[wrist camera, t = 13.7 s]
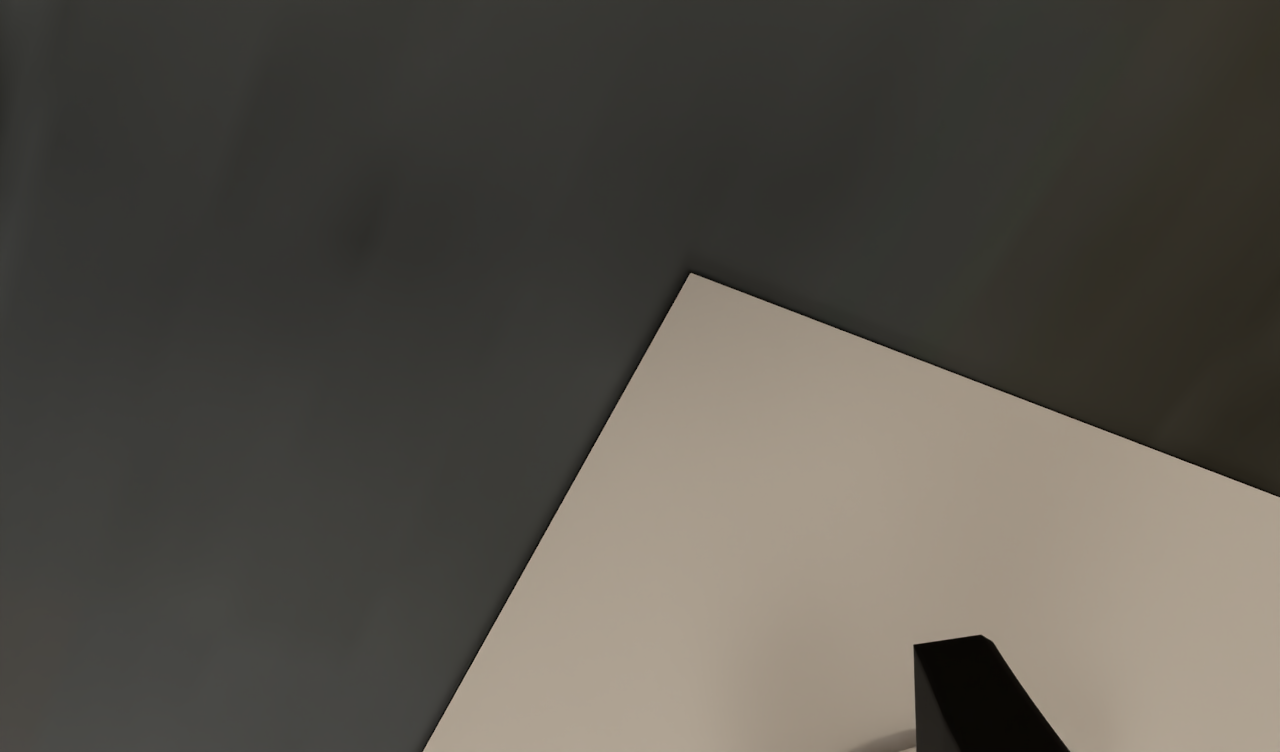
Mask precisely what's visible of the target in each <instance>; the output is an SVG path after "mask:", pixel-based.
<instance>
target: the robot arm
mask: <svg viewBox="0 0 1280 752" xmlns="http://www.w3.org/2000/svg"><path fill="white" fill-rule="evenodd" d="M913 651H914V685H915V719H916V752H1070V751H1069V749H1068V748H1067V747H1066V745H1065V744H1064V743H1063V741H1062V740H1061V739H1060V737H1059V736H1058V735H1057V733H1056V732H1055V731H1054V730H1053V728H1052V727H1051V726H1050V724H1049V723H1048V721H1047V720H1046V719H1045V717H1044V716H1043V715H1042V713H1041V712H1040V710H1039V709H1038V708H1037V706H1036V705H1035V704H1034V702H1033V701H1032V699H1031V698H1030V697H1029V695H1028V694H1027V692H1026V691H1025V689H1024V688H1023V687H1022V685H1021V684H1020V682H1019V681H1018V679H1017V678H1016V676H1015V675H1014V673H1013V672H1012V670H1011V669H1010V667H1009V666H1008V664H1007V663H1006V661H1005V660H1004V658H1003V657H1002V655H1001V654H1000V652H999V650H998V649H997V647H996V646H995V644H994V642H993V641H991V640H989V639H988V638H986V637H985V636H983V635H974V636H968V637H961V638H954V639H947V640H941V641H934V642H927V643H920V644H914V645H913Z"/></svg>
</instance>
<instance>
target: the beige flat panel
mask: <svg viewBox="0 0 1280 752" xmlns="http://www.w3.org/2000/svg"><path fill="white" fill-rule="evenodd" d="M898 752H916V746H914V747H910V748H906V749H902V750H899V751H898Z"/></svg>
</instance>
